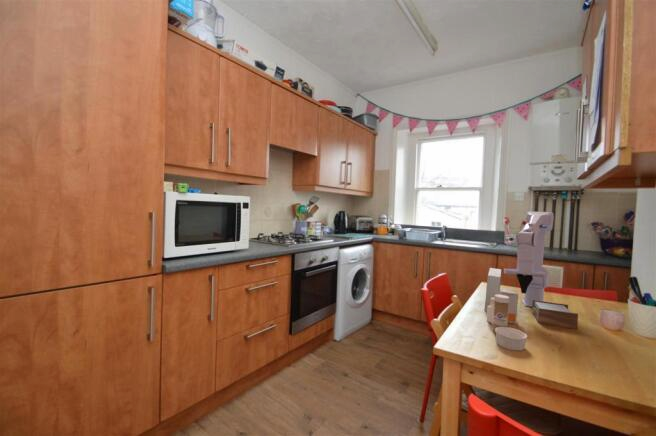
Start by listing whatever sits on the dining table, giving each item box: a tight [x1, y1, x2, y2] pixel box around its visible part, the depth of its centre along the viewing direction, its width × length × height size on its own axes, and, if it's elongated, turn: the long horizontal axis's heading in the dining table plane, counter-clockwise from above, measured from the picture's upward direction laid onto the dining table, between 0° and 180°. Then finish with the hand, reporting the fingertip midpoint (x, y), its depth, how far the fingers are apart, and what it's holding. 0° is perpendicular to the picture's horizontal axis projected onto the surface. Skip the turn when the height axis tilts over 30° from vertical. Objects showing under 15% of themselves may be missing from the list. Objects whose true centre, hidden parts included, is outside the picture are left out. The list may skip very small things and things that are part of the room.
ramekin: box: [495, 326, 528, 352], centre depth 95 cm, size 9×9×4 cm
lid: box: [534, 302, 572, 313], centre depth 117 cm, size 10×10×2 cm
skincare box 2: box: [500, 288, 519, 325], centre depth 116 cm, size 6×4×12 cm
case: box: [531, 300, 579, 330], centre depth 117 cm, size 12×12×6 cm
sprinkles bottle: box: [492, 294, 509, 334], centre depth 104 cm, size 5×5×13 cm
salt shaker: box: [486, 298, 495, 325], centre depth 113 cm, size 4×4×10 cm
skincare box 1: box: [483, 267, 502, 312], centre depth 134 cm, size 21×6×16 cm, turn 148°
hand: (523, 292), depth 121 cm, fingers closed
